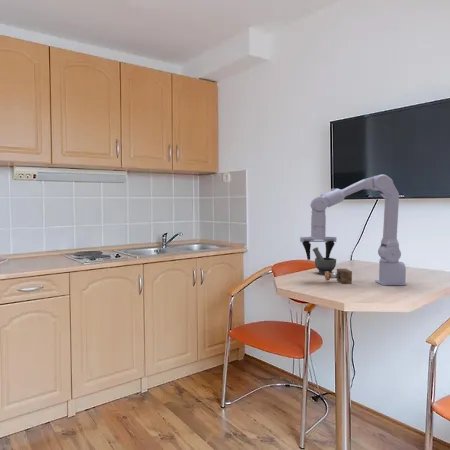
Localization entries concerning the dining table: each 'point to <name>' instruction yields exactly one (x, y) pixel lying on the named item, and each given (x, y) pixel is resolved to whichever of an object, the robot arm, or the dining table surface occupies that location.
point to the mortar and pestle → (323, 262)
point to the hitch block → (345, 276)
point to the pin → (331, 275)
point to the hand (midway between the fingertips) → (317, 259)
